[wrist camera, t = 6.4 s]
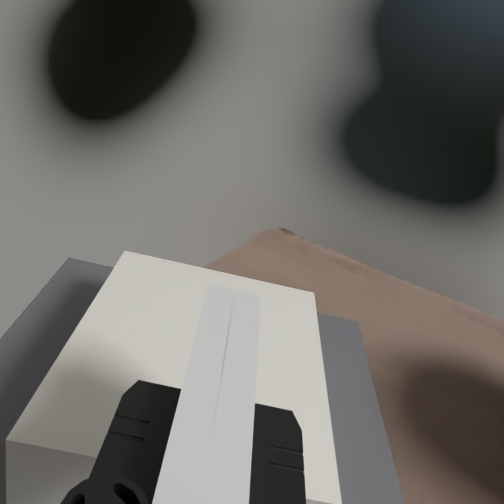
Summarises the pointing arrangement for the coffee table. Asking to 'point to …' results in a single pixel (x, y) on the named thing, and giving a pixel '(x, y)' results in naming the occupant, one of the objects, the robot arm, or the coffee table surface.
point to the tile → (164, 374)
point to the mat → (334, 359)
